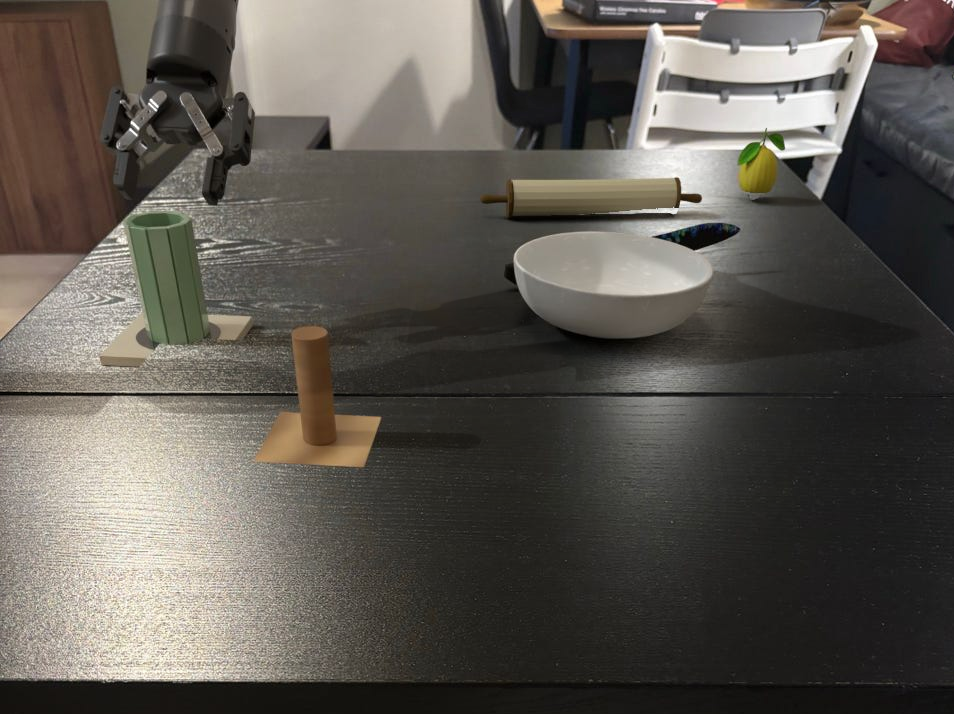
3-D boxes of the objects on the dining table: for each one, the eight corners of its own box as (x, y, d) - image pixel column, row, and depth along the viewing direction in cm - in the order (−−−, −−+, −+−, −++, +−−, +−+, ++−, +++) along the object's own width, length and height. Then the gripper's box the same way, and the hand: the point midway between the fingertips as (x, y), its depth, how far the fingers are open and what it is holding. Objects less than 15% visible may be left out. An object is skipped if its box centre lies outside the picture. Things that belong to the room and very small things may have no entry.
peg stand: (255, 474, 76) (236, 352, 69) (281, 424, 83) (266, 309, 76) (365, 480, 75) (356, 358, 69) (382, 429, 82) (376, 314, 76)
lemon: (775, 197, 145) (790, 125, 139) (775, 207, 140) (791, 133, 134) (731, 194, 146) (744, 121, 140) (730, 203, 142) (743, 129, 135)
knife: (508, 304, 111) (505, 266, 108) (501, 294, 113) (499, 257, 110) (747, 259, 115) (752, 221, 112) (736, 250, 117) (740, 213, 114)
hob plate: (100, 365, 92) (98, 354, 91) (143, 320, 101) (141, 310, 100) (221, 371, 91) (219, 360, 91) (253, 325, 101) (252, 315, 100)
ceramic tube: (139, 343, 93) (114, 227, 86) (160, 321, 98) (138, 209, 91) (198, 346, 93) (177, 230, 86) (216, 323, 98) (198, 211, 91)
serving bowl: (662, 378, 92) (673, 308, 87) (476, 335, 99) (478, 269, 95) (728, 313, 106) (740, 249, 101) (561, 279, 114) (565, 219, 109)
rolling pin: (482, 223, 131) (483, 184, 128) (478, 212, 136) (478, 174, 132) (704, 220, 135) (710, 182, 131) (693, 209, 139) (699, 172, 136)
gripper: (105, 8, 88) (77, 170, 87) (249, 14, 87) (223, 179, 85) (142, 65, 96) (116, 215, 94) (275, 71, 94) (251, 224, 93)
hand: (167, 198), depth 90 cm, fingers open, 8 cm apart
